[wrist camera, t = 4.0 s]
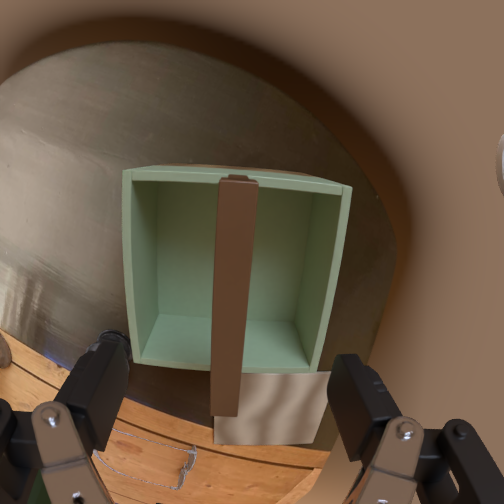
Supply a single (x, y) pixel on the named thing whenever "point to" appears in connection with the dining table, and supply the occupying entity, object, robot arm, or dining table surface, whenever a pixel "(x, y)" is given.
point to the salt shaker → (117, 337)
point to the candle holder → (4, 353)
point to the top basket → (230, 270)
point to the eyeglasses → (183, 472)
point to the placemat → (275, 409)
